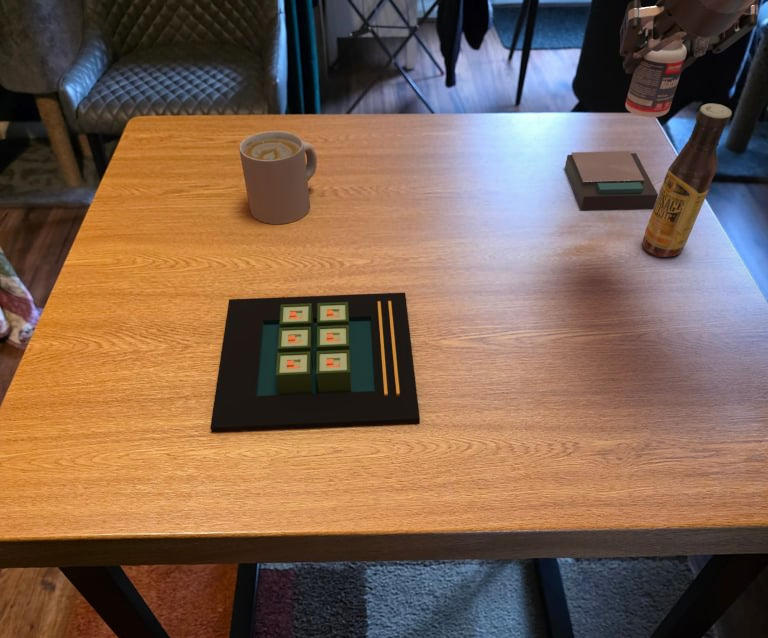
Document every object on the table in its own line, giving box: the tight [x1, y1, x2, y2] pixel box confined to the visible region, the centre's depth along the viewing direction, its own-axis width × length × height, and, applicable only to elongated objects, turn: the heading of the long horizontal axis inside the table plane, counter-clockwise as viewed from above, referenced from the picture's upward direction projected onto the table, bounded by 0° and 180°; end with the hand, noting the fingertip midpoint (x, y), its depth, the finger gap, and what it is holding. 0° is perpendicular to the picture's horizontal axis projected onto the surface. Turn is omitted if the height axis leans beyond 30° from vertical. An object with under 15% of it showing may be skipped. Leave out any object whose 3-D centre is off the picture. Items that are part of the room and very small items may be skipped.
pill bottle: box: [625, 40, 687, 118], centre depth 77 cm, size 5×5×9 cm
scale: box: [564, 150, 659, 211], centre depth 111 cm, size 12×14×3 cm
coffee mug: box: [238, 130, 318, 225], centre depth 106 cm, size 13×10×10 cm
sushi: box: [209, 292, 421, 434], centre depth 85 cm, size 25×25×4 cm
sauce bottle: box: [642, 102, 733, 258], centre depth 93 cm, size 6×6×20 cm
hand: (653, 63), depth 78 cm, fingers closed on pill bottle, 5 cm apart
